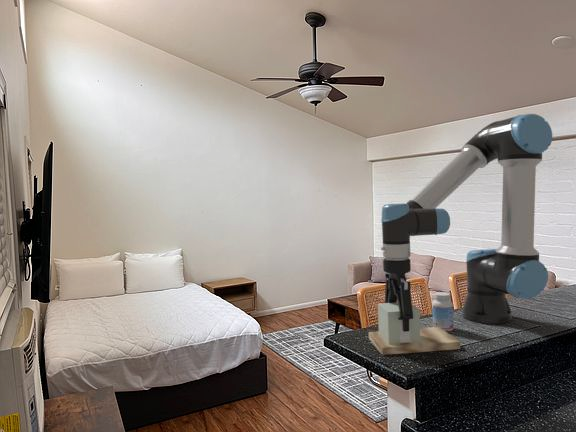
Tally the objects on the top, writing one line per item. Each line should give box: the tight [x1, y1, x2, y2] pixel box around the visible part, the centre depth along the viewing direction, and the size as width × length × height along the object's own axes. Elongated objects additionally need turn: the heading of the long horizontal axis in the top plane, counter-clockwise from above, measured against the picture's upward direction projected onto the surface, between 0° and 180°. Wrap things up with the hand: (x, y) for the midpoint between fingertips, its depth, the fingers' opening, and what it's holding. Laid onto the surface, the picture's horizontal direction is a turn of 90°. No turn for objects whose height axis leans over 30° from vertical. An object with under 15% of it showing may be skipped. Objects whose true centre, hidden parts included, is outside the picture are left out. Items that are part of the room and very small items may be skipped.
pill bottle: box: [432, 291, 455, 332], centre depth 131 cm, size 6×6×11 cm
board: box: [368, 326, 461, 356], centre depth 120 cm, size 22×13×2 cm, turn 95°
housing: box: [377, 301, 421, 344], centre depth 119 cm, size 9×9×9 cm
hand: (398, 335), depth 119 cm, fingers closed on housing, 9 cm apart
